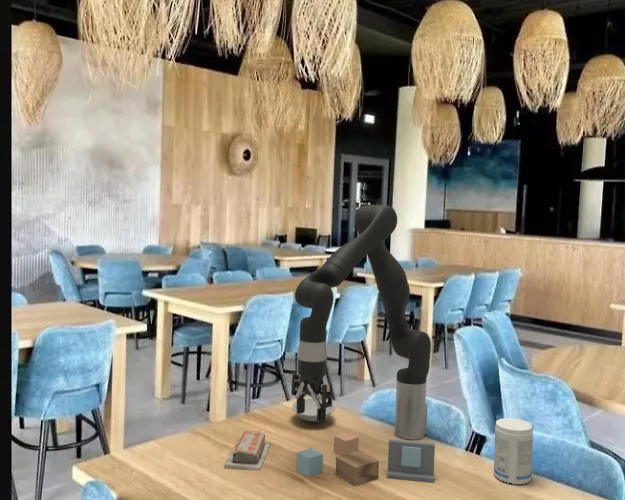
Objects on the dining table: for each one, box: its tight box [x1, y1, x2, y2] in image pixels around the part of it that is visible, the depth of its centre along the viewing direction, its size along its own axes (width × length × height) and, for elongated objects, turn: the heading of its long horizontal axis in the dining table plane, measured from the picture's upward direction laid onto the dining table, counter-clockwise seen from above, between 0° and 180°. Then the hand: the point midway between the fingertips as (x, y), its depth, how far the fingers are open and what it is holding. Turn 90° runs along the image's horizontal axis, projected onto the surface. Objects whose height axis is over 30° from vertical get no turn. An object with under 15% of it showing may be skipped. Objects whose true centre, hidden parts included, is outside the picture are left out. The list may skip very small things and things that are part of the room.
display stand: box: [386, 438, 436, 483], centre depth 160 cm, size 6×12×9 cm, turn 80°
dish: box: [291, 397, 336, 423], centre depth 199 cm, size 18×14×5 cm
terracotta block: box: [333, 431, 360, 456], centre depth 174 cm, size 5×5×5 cm
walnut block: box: [335, 450, 380, 487], centre depth 159 cm, size 8×8×5 cm
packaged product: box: [224, 430, 272, 471], centre depth 170 cm, size 18×5×10 cm
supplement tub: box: [493, 417, 534, 485], centre depth 160 cm, size 10×10×15 cm
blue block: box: [295, 447, 324, 478], centre depth 161 cm, size 5×5×5 cm
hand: (310, 417), depth 160 cm, fingers open, 8 cm apart
